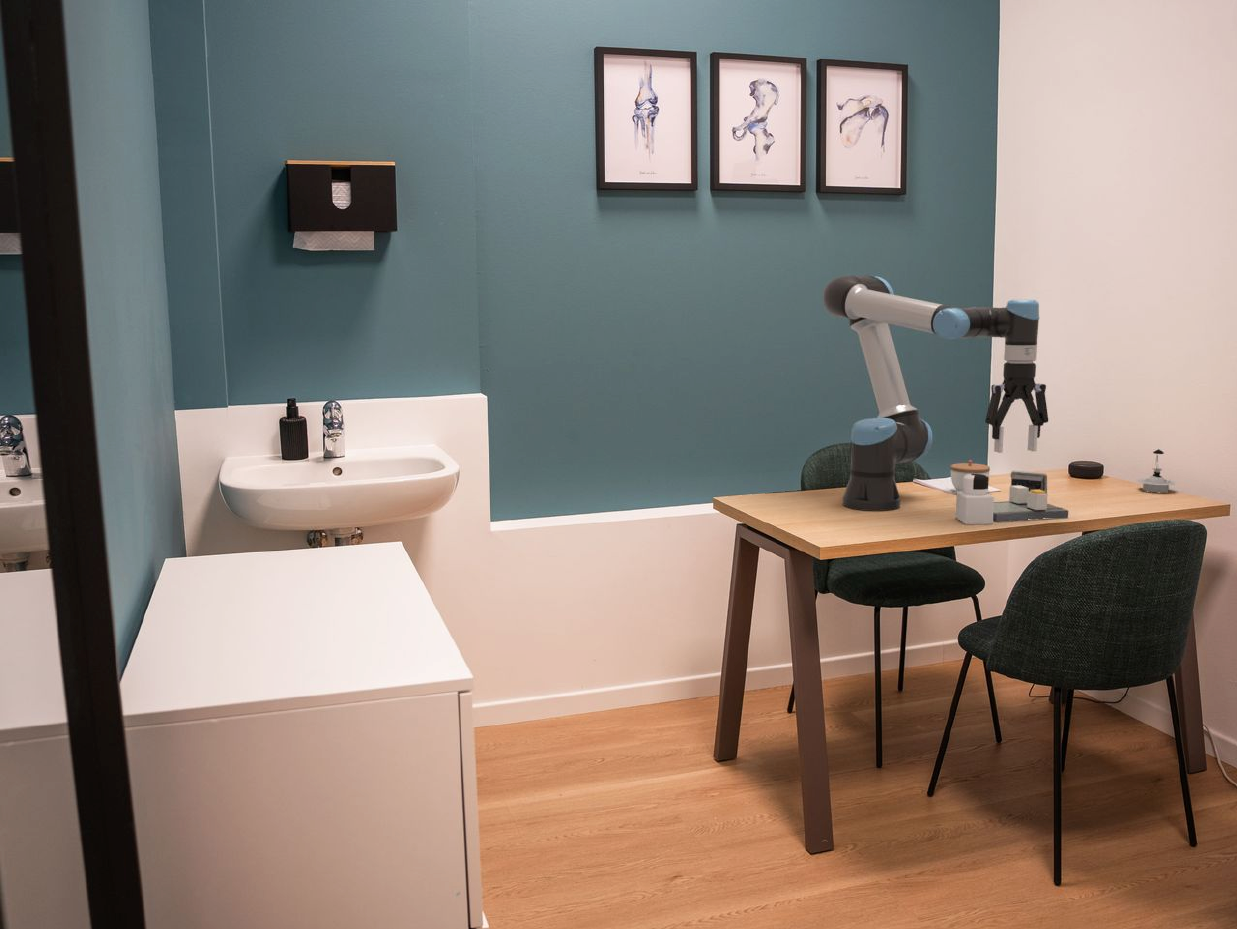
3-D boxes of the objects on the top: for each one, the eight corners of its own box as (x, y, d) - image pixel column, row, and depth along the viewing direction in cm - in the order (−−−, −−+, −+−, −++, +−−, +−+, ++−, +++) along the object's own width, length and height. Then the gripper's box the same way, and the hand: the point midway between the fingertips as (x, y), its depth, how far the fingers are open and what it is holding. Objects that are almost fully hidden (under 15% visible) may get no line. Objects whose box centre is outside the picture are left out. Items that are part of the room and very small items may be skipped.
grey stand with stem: (1185, 451, 293) (1167, 446, 303) (1150, 451, 293) (1132, 446, 303) (1182, 494, 295) (1163, 487, 305) (1146, 494, 295) (1129, 488, 305)
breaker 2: (1035, 510, 264) (1037, 492, 264) (1027, 506, 268) (1028, 489, 267) (1046, 509, 265) (1047, 491, 264) (1037, 506, 269) (1038, 489, 268)
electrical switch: (1047, 504, 283) (1048, 471, 280) (1043, 509, 278) (1044, 476, 276) (1011, 501, 288) (1012, 468, 285) (1007, 506, 283) (1008, 473, 281)
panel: (996, 521, 262) (996, 514, 261) (967, 510, 275) (968, 503, 275) (1067, 518, 265) (1068, 510, 265) (1036, 507, 279) (1036, 499, 278)
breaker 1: (1017, 503, 273) (1018, 488, 272) (1009, 500, 276) (1009, 485, 276) (1027, 503, 273) (1028, 488, 272) (1019, 500, 277) (1020, 485, 276)
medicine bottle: (982, 518, 266) (984, 472, 264) (993, 524, 259) (995, 477, 257) (955, 518, 266) (957, 472, 264) (965, 524, 259) (967, 477, 257)
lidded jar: (983, 489, 305) (985, 457, 303) (992, 496, 294) (994, 463, 293) (946, 488, 306) (947, 457, 304) (953, 495, 295) (955, 463, 294)
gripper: (988, 363, 254) (984, 455, 257) (1067, 362, 257) (1062, 452, 261) (972, 361, 261) (968, 450, 265) (1050, 360, 265) (1044, 447, 268)
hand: (1015, 451), depth 263 cm, fingers open, 9 cm apart
